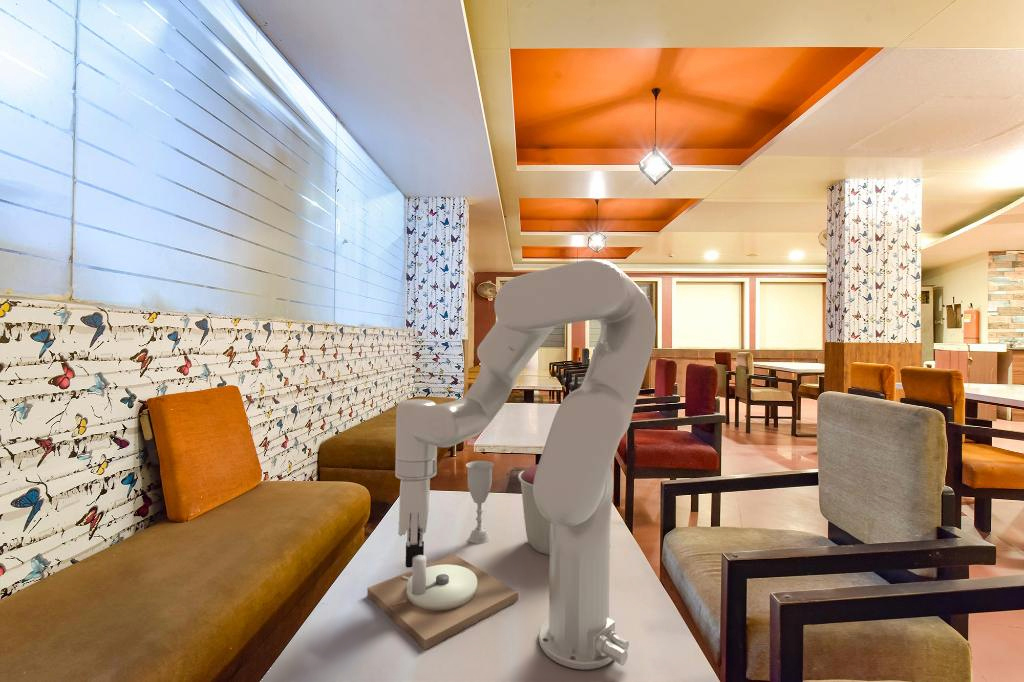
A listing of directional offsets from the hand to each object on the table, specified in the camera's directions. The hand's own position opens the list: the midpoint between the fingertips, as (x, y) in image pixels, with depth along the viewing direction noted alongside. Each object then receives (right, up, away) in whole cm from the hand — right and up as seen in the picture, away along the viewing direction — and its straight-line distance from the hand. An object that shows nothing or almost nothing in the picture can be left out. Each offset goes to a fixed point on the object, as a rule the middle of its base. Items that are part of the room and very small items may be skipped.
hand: (414, 564), depth 84 cm
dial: (+5, -5, 0) cm, 7 cm away
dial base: (+5, -6, 0) cm, 8 cm away
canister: (+28, -7, +22) cm, 37 cm away
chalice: (+10, -7, +26) cm, 28 cm away
